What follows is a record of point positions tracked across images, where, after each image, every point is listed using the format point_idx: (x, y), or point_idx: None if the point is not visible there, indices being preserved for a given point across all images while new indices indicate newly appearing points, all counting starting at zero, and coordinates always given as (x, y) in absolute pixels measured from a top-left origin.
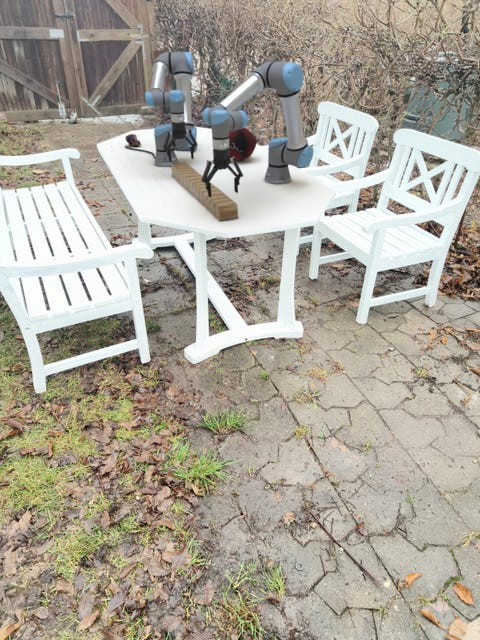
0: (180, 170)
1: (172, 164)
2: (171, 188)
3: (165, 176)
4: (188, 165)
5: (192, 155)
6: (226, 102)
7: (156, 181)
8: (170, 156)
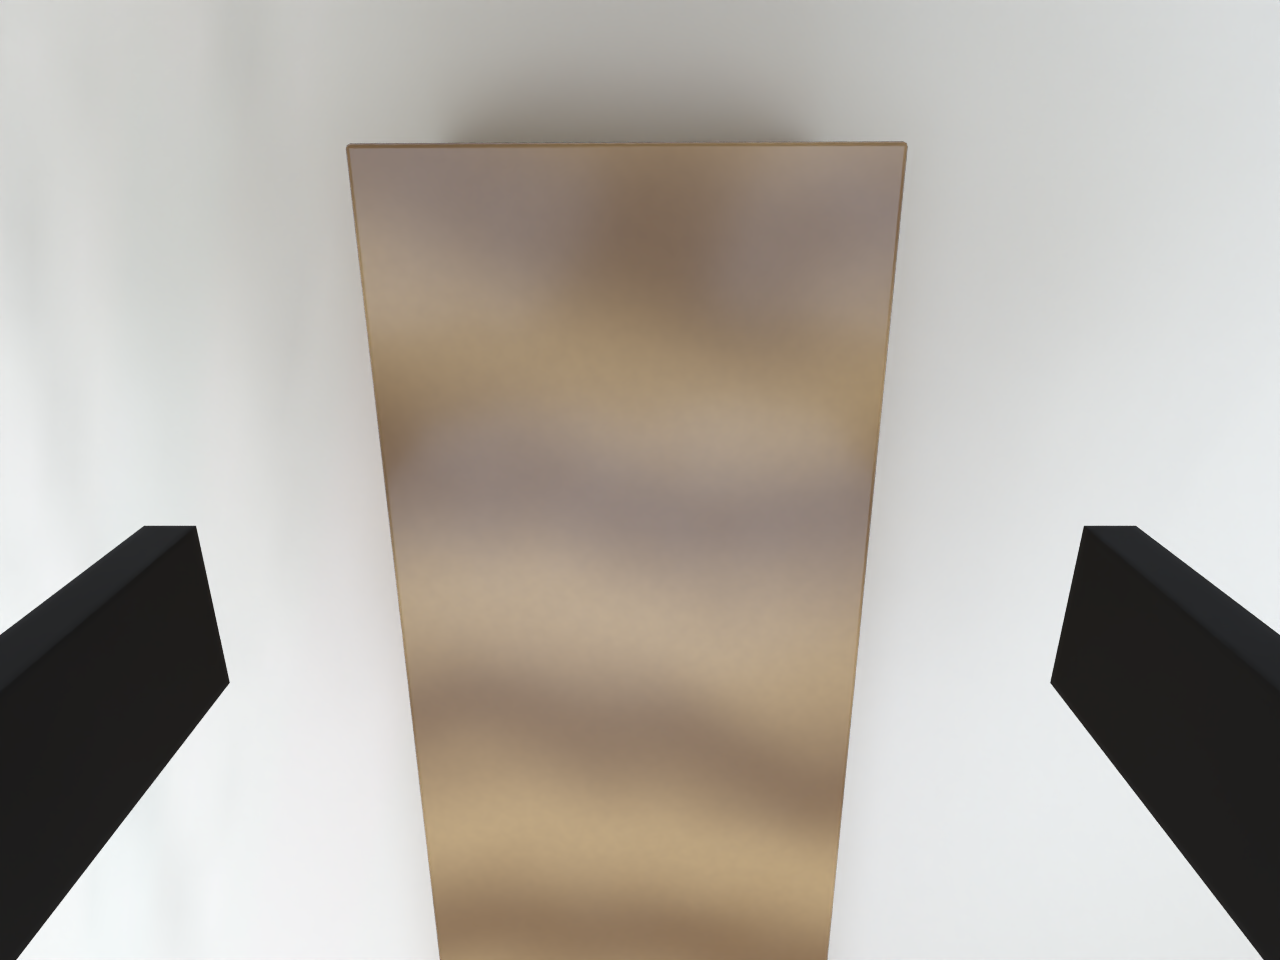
0: (481, 867)
1: (386, 220)
2: (282, 892)
3: (264, 142)
4: (837, 549)
5: (1131, 779)
6: None
7: (25, 434)
8: (84, 836)
